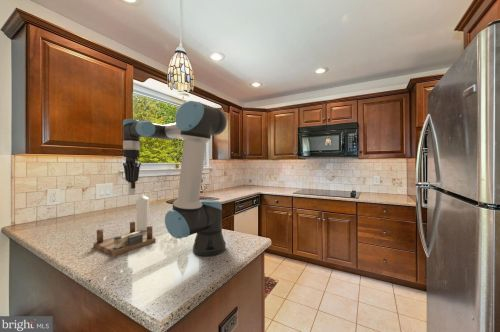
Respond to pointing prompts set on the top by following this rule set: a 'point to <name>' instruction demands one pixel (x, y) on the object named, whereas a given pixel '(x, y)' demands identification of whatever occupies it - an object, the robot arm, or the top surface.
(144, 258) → the top surface
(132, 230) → the wooden peg board
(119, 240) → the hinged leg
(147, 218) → the milk
